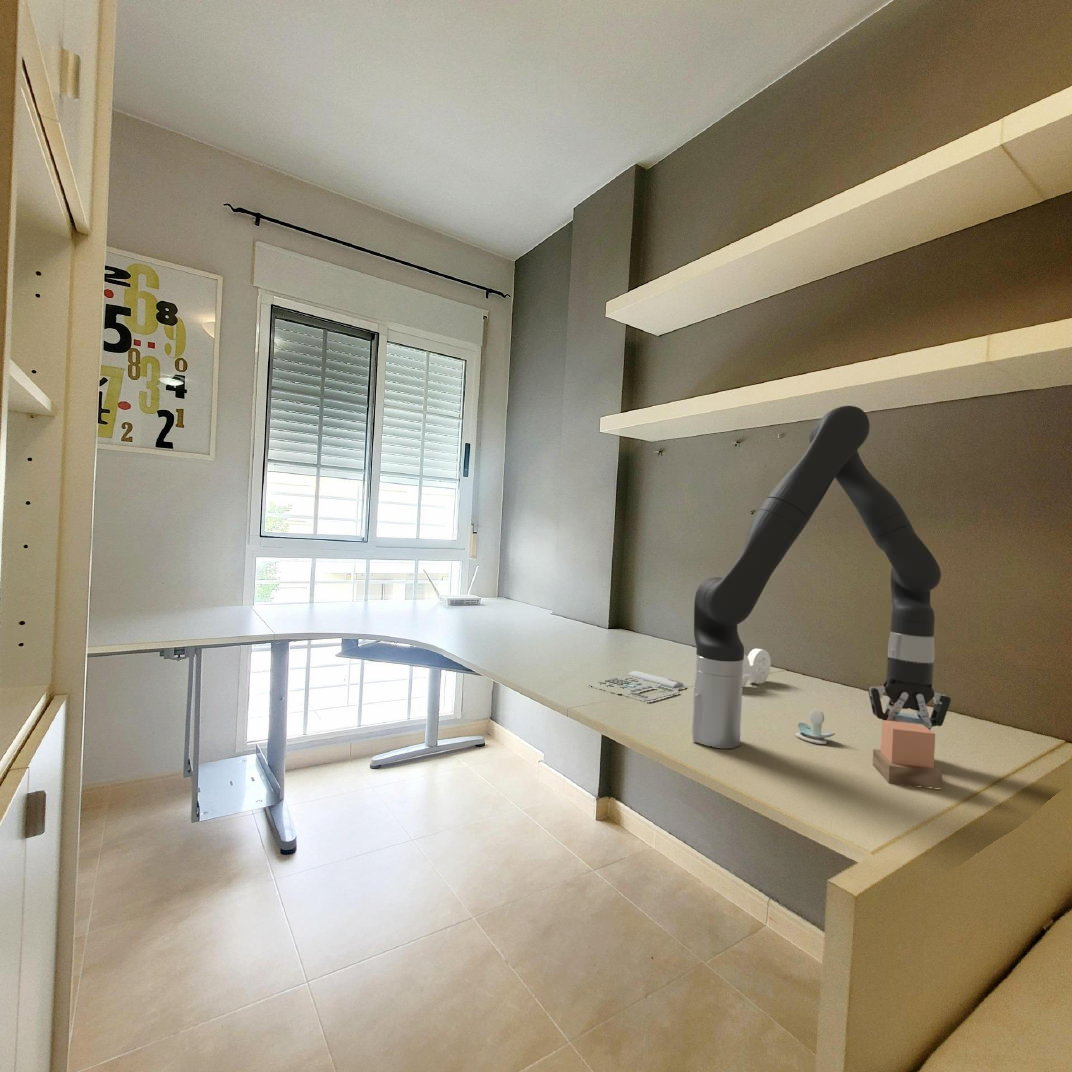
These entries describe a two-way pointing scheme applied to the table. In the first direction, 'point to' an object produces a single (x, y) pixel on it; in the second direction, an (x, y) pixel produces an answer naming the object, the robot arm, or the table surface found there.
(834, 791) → the table surface
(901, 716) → the brick slate
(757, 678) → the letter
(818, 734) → the pacifier
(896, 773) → the base block
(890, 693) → the robot arm
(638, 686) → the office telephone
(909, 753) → the brick terracotta
